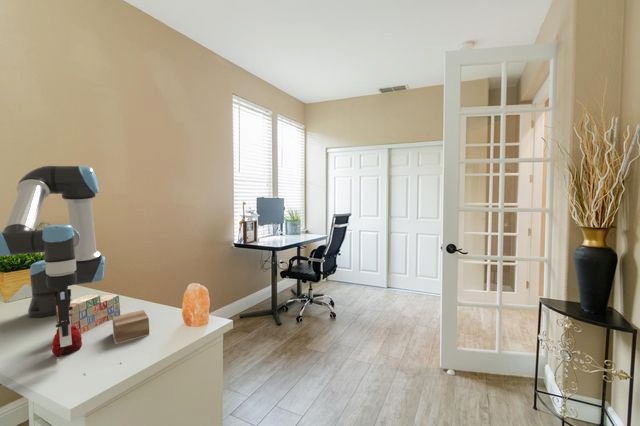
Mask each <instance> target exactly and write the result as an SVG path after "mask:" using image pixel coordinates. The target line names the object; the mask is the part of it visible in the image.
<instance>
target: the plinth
mask: <svg viewBox="0 0 640 426" xmlns="http://www.w3.org/2000/svg"><path fill="white" fill-rule="evenodd" d="M112 319H113V320H112V329H113V331H112V333H114V336H115V340H116V343H117V344H120V343H119V342H121V343H124V342H123V341H125V342H127V341H126V340H129V341H131V340H130V339H132V340H135V339H134V338H136V339H139V338H138V337H140V338H142V337H141V336H143V337H146V336H145V335H147V336H150V335H149V334H150V333H151V332H150V319H149V316H148V314H147V313H146V312H145V310H144V309H143V310H138V311H134V312H130V313H129V312H128V313H124V314H120V315H119V316H115V317H112ZM149 332H150V333H149Z"/></svg>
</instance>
